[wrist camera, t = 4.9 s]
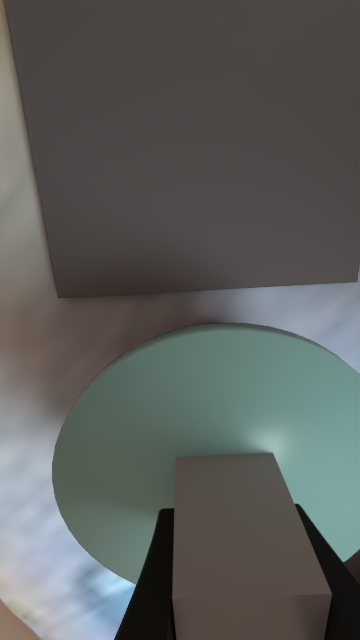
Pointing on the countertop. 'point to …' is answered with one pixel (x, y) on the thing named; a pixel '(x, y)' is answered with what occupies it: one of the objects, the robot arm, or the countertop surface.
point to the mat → (193, 141)
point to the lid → (219, 474)
